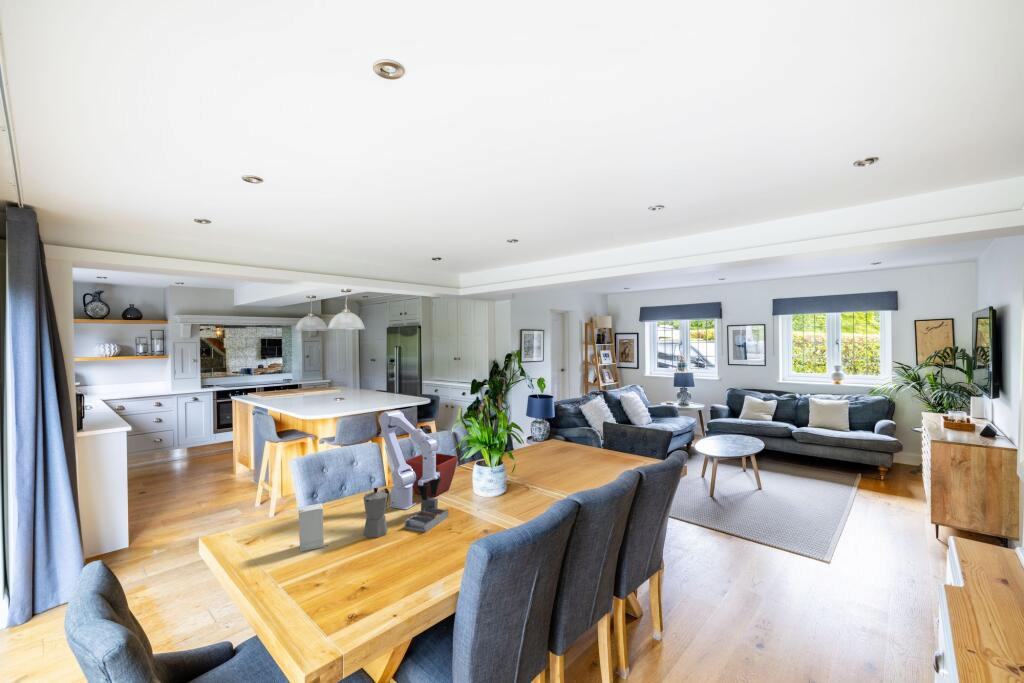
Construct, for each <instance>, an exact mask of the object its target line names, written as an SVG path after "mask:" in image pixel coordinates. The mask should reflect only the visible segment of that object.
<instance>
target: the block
mask: <svg viewBox="0 0 1024 683" xmlns="http://www.w3.org/2000/svg"><path fill="white" fill-rule="evenodd" d="M438 500H439V499H438V498H435V497H429V496H427V500H422V497H421V499H420V511H421V510H423V509H425V508H426V507H428V506H430V507H431V508H436V509H439V508H438Z"/></svg>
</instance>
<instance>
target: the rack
mask: <svg viewBox="0 0 1024 683" xmlns="http://www.w3.org/2000/svg"><path fill="white" fill-rule="evenodd" d="M449 511H450V510H449V509H448V508H446V509H441V508H438V509H436V508H431V507H430V506H428V507H426V508H425V509H423V510H421V509H420V511H418V512H416V513H415V514H414V515H413V514H412V515H411V517H408V518H407V519H405V520H404V529H405V530H410V531H414V532H418V533H424V534H425V533H428V532H429V531H430V530H431V529H433V528H435V527H436V526H437V525H439V524H440V523H442V522H443V521H444V520H446V519H447V518H449V516H450V515H449Z"/></svg>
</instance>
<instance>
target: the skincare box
mask: <svg viewBox="0 0 1024 683" xmlns="http://www.w3.org/2000/svg"><path fill="white" fill-rule="evenodd" d="M298 530H299V532H298V533H299V534H298V535H299V551H300V552H307V551H309V550H314V549H321V548H324V546H325V543H324V507H323V504H322V503H315V504H309V505H304V506H299V507H298Z"/></svg>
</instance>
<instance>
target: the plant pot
mask: <svg viewBox="0 0 1024 683" xmlns="http://www.w3.org/2000/svg"><path fill="white" fill-rule="evenodd" d="M405 462H406V464H408V465H409V466H411V468H412V470H413V471H414V472H415V474H416V480H415V482H414V483H413V486H412V491H413V492H414V494H418V495H421V494H420V491H419V489H418V487H417V484H418V481H419V480H420V479H421V478H422V476H423V457H422V453H421V454H419V455H416V456H414V457H411V458H409V459H407V460H405ZM457 463H458V456H457V455H451V454H445V453H444V454H443V453H439V452H438V453H437V452H436V472H440V476H439V477H438V478H441V481H440V483H439V485H438V489H437V493H436V495H433V494H431V486H430V487H429V489H428V496H427V497H431V498H435V497H437V496H439V495H441V494H444V493H445V492H447V491H449V490H450V488H451V485H452V482H453V480H454V475H455V473H456V469H457V467H456V466H457ZM426 484H427V485H430V482H429V481H428V482H426Z"/></svg>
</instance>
